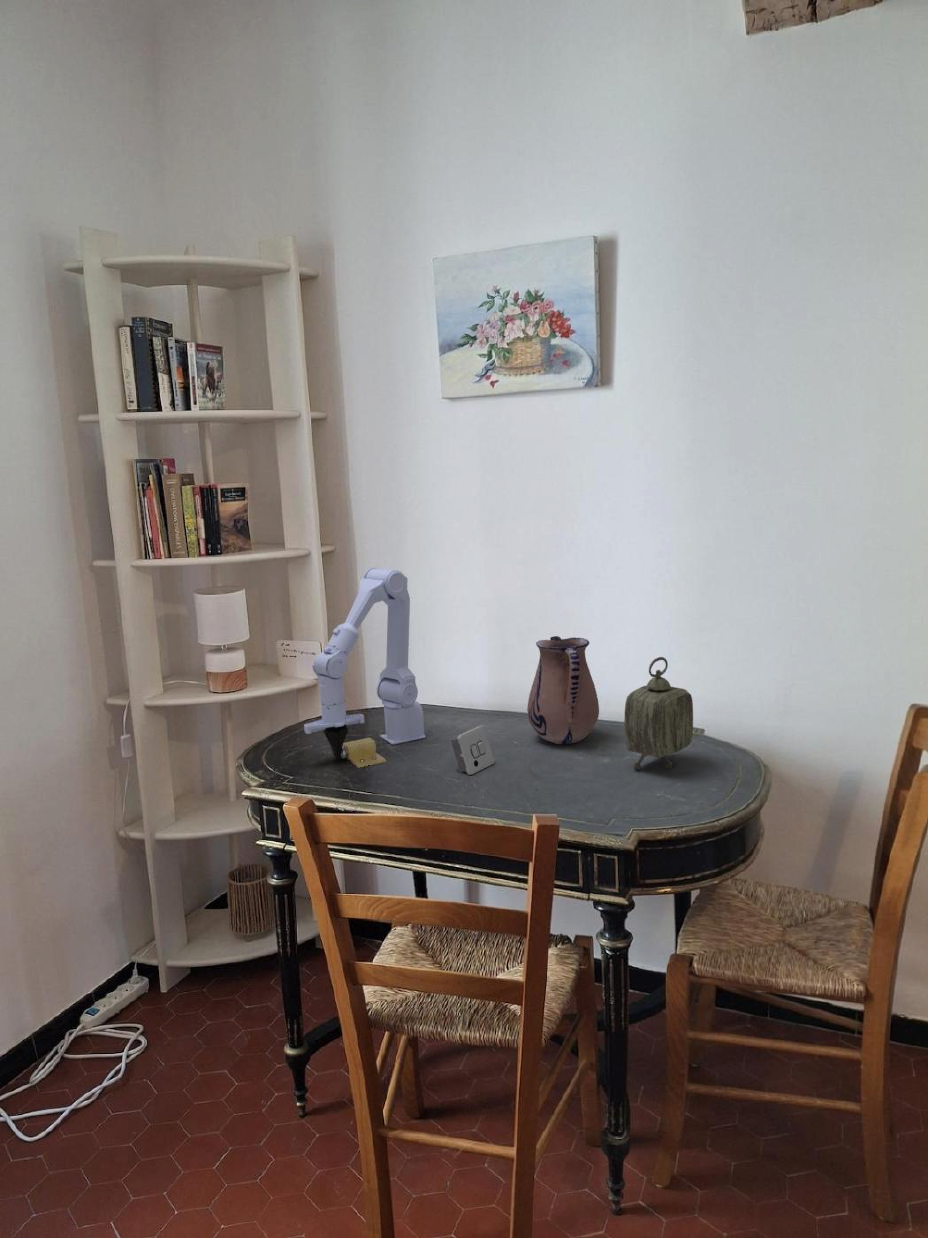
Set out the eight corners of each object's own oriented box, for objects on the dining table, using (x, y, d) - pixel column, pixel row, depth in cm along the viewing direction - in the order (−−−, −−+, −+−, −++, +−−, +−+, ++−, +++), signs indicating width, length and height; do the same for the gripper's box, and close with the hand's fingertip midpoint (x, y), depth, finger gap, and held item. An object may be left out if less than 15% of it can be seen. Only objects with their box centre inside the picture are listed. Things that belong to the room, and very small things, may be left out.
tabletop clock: (661, 753, 214) (660, 649, 209) (696, 761, 207) (695, 654, 202) (625, 771, 204) (623, 662, 199) (659, 780, 197) (658, 667, 193)
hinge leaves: (361, 744, 232) (360, 731, 231) (386, 761, 218) (385, 748, 217) (335, 749, 229) (333, 736, 228) (358, 768, 215) (357, 754, 214)
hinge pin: (373, 749, 226) (372, 739, 226) (377, 752, 224) (376, 742, 223) (339, 756, 222) (339, 746, 222) (343, 759, 220) (342, 749, 219)
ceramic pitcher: (580, 724, 238) (577, 630, 234) (619, 748, 219) (616, 646, 214) (518, 734, 233) (514, 638, 228) (551, 759, 213) (548, 655, 209)
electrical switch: (470, 776, 206) (465, 736, 204) (453, 774, 209) (447, 735, 208) (495, 764, 213) (490, 725, 212) (478, 762, 216) (473, 724, 215)
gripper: (309, 711, 211) (313, 767, 214) (367, 700, 218) (371, 754, 220) (299, 704, 217) (304, 759, 220) (356, 694, 224) (360, 747, 226)
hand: (337, 756), depth 220 cm, fingers closed
